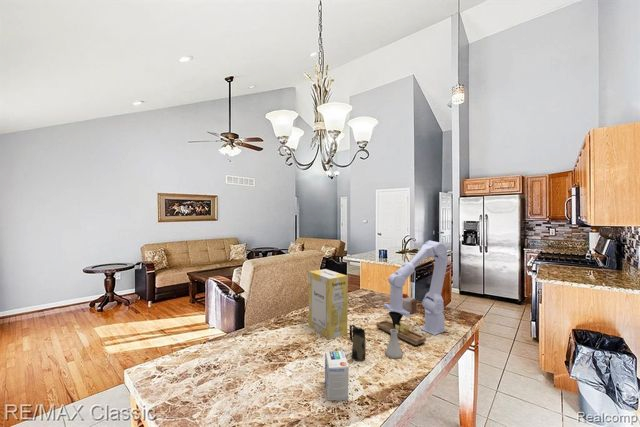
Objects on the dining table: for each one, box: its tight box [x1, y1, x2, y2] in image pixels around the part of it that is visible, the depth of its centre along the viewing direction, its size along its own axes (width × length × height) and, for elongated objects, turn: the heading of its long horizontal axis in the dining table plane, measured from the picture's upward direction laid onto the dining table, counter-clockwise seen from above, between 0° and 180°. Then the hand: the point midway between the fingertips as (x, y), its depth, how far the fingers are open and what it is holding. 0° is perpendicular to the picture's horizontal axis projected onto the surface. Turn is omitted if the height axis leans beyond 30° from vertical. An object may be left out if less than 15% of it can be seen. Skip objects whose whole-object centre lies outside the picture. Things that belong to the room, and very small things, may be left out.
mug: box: [348, 324, 367, 362], centre depth 119 cm, size 8×6×12 cm
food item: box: [402, 293, 418, 315], centre depth 172 cm, size 14×8×10 cm, turn 44°
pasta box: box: [308, 268, 349, 340], centre depth 145 cm, size 18×10×28 cm, turn 34°
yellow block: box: [395, 322, 410, 335], centre depth 137 cm, size 4×5×4 cm
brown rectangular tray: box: [375, 319, 427, 346], centre depth 138 cm, size 8×24×3 cm, turn 33°
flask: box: [384, 329, 404, 359], centre depth 120 cm, size 7×7×10 cm
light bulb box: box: [324, 350, 350, 401], centre depth 97 cm, size 11×7×11 cm, turn 5°
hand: (396, 327), depth 140 cm, fingers closed
